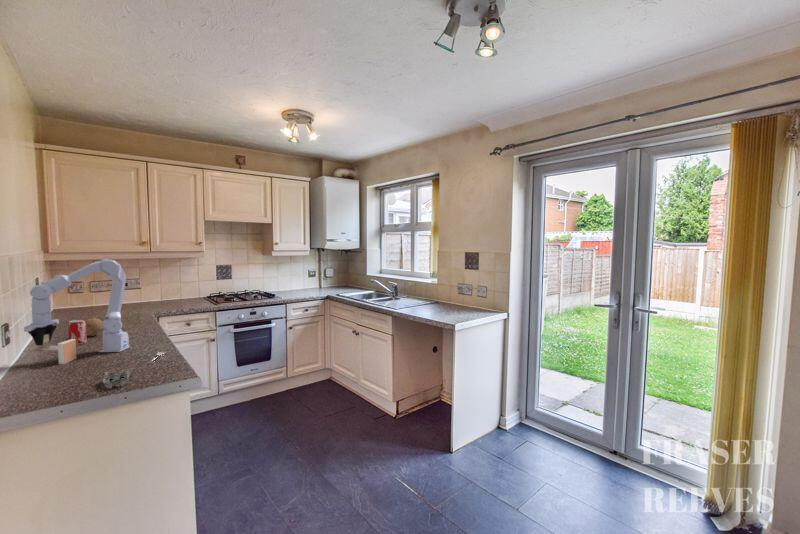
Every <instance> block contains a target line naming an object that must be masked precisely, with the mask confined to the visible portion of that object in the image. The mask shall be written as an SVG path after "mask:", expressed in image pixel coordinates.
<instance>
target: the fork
mask: <svg viewBox="0 0 800 534" xmlns="http://www.w3.org/2000/svg"><path fill="white" fill-rule="evenodd" d="M162 354H164V355H165V351H162V352H161V351H158V352H157V353H156V355H159V356H160V355H162ZM156 358H157V357H156ZM156 358H155V357H153V359H152V360H151V361H153V360H155V359H156Z"/></svg>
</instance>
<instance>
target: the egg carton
mask: <svg viewBox="0 0 800 534" xmlns="http://www.w3.org/2000/svg"><path fill="white" fill-rule="evenodd" d="M130 373H131V370H123V371H118V373H116V374H115V372H113V371H108V370H106V371H105V373H104V377H103V381H102V383H103V385H104V388H105V387H108V388H109V387H112V386H114V385H124V384H125V383H128V384H129V377H130ZM122 376H124V378H121V379H120V377H122ZM111 378H113V380H109V379H111ZM108 388H107V389H108Z"/></svg>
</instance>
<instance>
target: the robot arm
mask: <svg viewBox="0 0 800 534" xmlns="http://www.w3.org/2000/svg"><path fill="white" fill-rule="evenodd" d="M102 272H103V273H105V274H106V275H108V276H109V277H110V278H111V279H112V282H111V283H112V284H111V289H110V294H109V301H108V306H107V312H106V314H105V316H104V318H103V320H101V321H102V327H103V328H104V330H103V331H101V334H102V349H101V350H98V353H119V352H122V351H124V350H127V349H129V348H131V346H130V343H129V341H130V340H129V333H128V332H127V331H123V330H122V327H123V323H122V314H121V310H122V304H123V298H124V293H125V286H126V281H127V275H126V274H125V272H124V270H123V268H122V266H121V264H120V263H119V262H118V261H116V260H114V259H109V258H103V259H100V260H99V261H95V262H92V263H90V264H87V265H85V266H83V267H82V268H79V269H77V270H75V271H73V272H72V273H69V274H67V275H65V274H60V275H57V274H56V275H54V276H53V278H51V279H49V280H47V281H41V284H37V285H34V286H32V288H31V289H30V292H29V294H30V295H31V319H32V321H31V323H30V324H28V325H26V326H23V332H27V333H28V334H29V335H30V336H31V338H32V339H33V342H34V343H36V345H43V339H44V334H49V344H50V343H51V340H52V336H53V334H54V332H55V331H56V329H57V325H59V324H60V319H59V318H58V319H52V307H51V306H52V305H51V304H52V303H51V301H50V300H51V299H50V297H51V295H52V294H56V293H58V292H59V291H62V290H65V289H67V288H69V287H70V286H71V285H72V283H73V282H74V281H77V280H78V279H80V278H83V277H85V276H87V275H90V274H92V273H102Z"/></svg>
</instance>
